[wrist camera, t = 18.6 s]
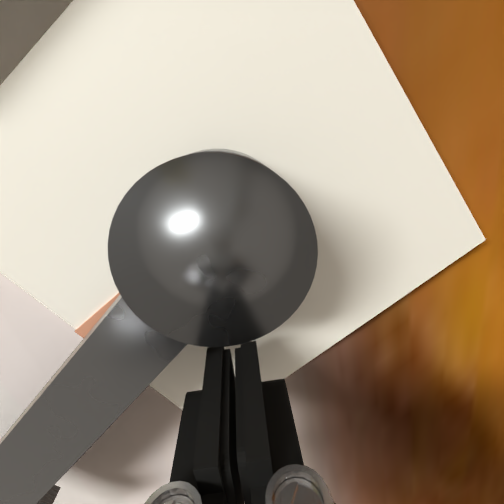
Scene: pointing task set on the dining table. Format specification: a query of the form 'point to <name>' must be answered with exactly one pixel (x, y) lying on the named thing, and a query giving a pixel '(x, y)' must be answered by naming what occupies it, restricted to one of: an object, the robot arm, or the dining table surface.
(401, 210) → the crank board
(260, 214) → the crank
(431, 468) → the dining table surface
